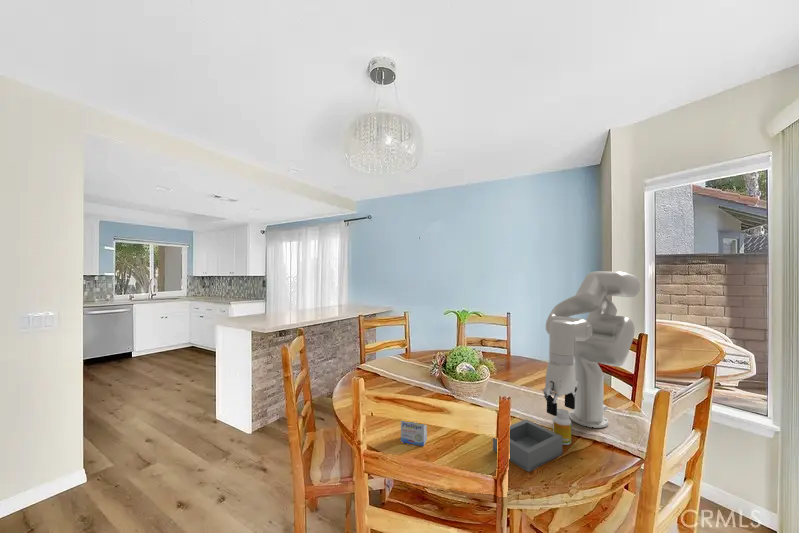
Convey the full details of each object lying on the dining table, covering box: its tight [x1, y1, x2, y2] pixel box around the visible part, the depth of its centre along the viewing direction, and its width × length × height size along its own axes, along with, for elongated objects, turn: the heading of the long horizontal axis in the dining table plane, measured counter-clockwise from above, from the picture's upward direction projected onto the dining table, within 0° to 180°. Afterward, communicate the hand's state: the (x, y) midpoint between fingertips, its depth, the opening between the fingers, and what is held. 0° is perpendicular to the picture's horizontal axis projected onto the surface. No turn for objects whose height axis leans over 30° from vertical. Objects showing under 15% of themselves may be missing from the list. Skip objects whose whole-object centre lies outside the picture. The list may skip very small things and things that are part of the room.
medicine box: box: [400, 420, 428, 447], centre depth 109 cm, size 8×4×9 cm, turn 73°
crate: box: [492, 418, 563, 473], centre depth 102 cm, size 16×13×6 cm
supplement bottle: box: [552, 408, 572, 446], centre depth 108 cm, size 5×5×10 cm
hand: (560, 411), depth 108 cm, fingers open, 9 cm apart
